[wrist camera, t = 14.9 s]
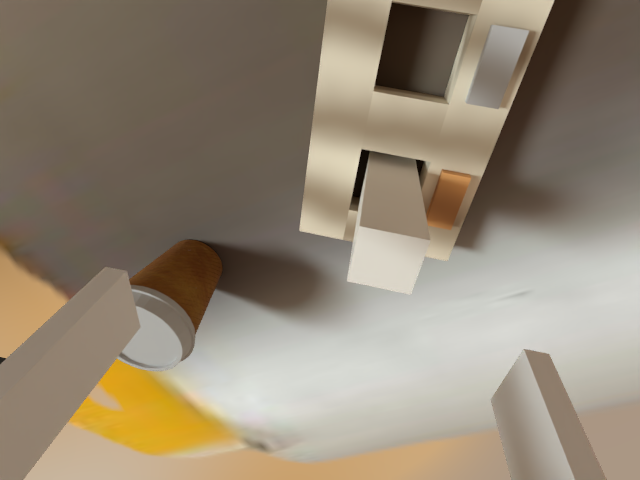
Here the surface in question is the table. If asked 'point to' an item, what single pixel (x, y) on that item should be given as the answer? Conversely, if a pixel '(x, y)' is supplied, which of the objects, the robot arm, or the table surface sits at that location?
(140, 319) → the disposable coffee cup
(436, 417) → the table surface
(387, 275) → the plug
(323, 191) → the socket plate
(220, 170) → the table surface
